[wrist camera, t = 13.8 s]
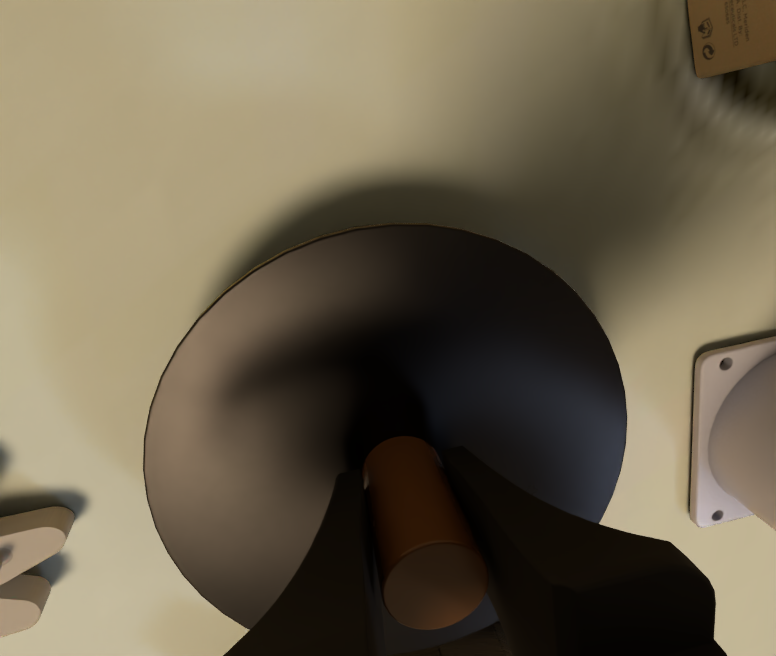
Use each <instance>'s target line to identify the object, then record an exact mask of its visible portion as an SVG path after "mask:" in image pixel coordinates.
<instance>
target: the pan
mask: <svg viewBox="0 0 776 656" xmlns="http://www.w3.org/2000/svg"><path fill="white" fill-rule="evenodd" d="M387 656H513V655H512V652H511V649H510V647H509V644H508V641H507V638H506V636H505V633H504V630H503V628H502V625H501V623H500V620H499V621H497V622H496V623H494V624H492V625H490V626H488V627H486V628H484V629H482V630H480V631H477V632H475V633H473V634H470V635H468V636H466V637H463V638H461V639H458V640H455V641H452V642H449V643H446V644H442V645H439V646H436V647H433V648H428V649H423V650H418V651H414V652H409V653H402V654H393V655H387Z"/></svg>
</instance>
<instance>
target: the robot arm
mask: <svg viewBox="0 0 776 656" xmlns="http://www.w3.org/2000/svg"><path fill="white" fill-rule="evenodd" d="M723 359H724V362H723V363H722V364H721V365H720V363H721V361H722V360H723ZM442 456H443V462H444V469H445V472H446V474H447V477H448V479H449V481H450V483H451V486H452V488H453V490H454V492H455V494H456V497H457V499H458V501H459V503H460V506H461V508H462V510H463V512H464V514H465V517H466V519H467V521H468V523H469V526H470V528H471V530H472V532H473V535H474V537H475V539H476V541H477V544H478V546H479V548H480V550H481V553H482V555H483V557H484V559H485V562H486V564H487V567H488V571H489V582H488V588H487V591H486V592H487V594H488V597H489V599H490V601H491V603H492V605H493V607H494V609H495V611H496V613H497V616H498V618H499V620H500V623H501V625H502V628H503V630H504V633H505V636H506V638H507V641H508V644H509V647H510V649H511V652H512V655H513V656H727V654H726V653H725V652H724V651H723V649H722V648H721V647H720V646H719V645H718V644H717V642H716V641H715V640H714V624H715V607H716V601H715V592H714V589H713V587H712V585H711V583H710V581H709V579H708V578H707V577H706V576H705V575H704V574H703V573H702V572H701V571H700V570H699V569H698V568H697V567H696V566H695V565H694V564H693V563H692V562H691V561H690V560H689V559H688V558H687V557H686V556H685V555H684V554H683V553H682V552H681V551H680V550H679V549H677V548H676V547H675V546H674V545H673V544H672V543H671V542H669V541H664V540H659V539H655V538H650V537H645V536H640V535H636V534H631V533H627V532H624V531H620V530H617V529H613V528H610V527H606V526H603V525H600V524H597V523H594V522H591V521H588V520H586V519H583V518H581V517H578V516H575V515H573V514H570V513H568V512H566V511H563V510H561V509H559V508H557V507H555V506H553V505H551V504H549V503H547V502H544V501H542V500H540V499H539V498H537V497H535V496H533V495H531V494H529V493H528V492H526V491H525V490H523V489H521V488H520V487H518V486H516V485H515V484H513V483H512V482H510V481H509V480H507V479H506V478H505V477H503V476H502V475H500V474H499V473H497V472H496V471H495V470H493V469H492V468H491V467H489V466H488V465H487V464H485V463H484V462H483V461H482V460H480V459H479V458H478V457H476V456H475V455H474V454H473V453H472V452H470V451H469V450H468V449H467V448H465V447H464V446H458V447H453V448H449V449H445V450H442ZM751 515H756V516H757V517H759V518H760V519H761V520H763V521H764V522H765V523H766V524H768V525H769V526H770V527H772V528H773V529H774V530H775V531H776V336H774V337H770V338H765V339H761V340H756V341H752V342H747V343H743V344H738V345H734V346H729V347H725V348H721V349H716V350H712V351H707V352H705V353H703V354H702V355H700V356H699V357H698V359H697V361H696V364H695V379H694V408H693V437H692V466H691V495H690V519H691V520H692V522H694V523H695V524H696V525H697V526H698V527H701V528H703V527H709V526H713V525H716V524H720V523H724V522H728V521H732V520H736V519H740V518H743V517H747V516H751ZM223 656H387V655H386V647H385V638H384V625H383V612H382V598H381V591H380V585H379V579H378V573H377V567H376V561H375V555H374V549H373V542H372V536H371V530H370V523H369V513H368V507H367V502H366V496H365V490H364V485H363V481H362V476H361V471H360V469H357V470H353V471H348V472H344V473H340V474H338V476H337V477H336V479H335V485H334V489H333V492H332V496H331V499H330V502H329V505H328V507H327V510H326V513H325V515H324V518H323V520H322V523H321V525H320V528H319V530H318V532H317V534H316V536H315V538H314V540H313V542H312V545H311V547H310V549H309V550H308V552H307V554H306V556H305V558H304V560H303V561H302V563H301V565H300V566H299V568H298V570H297V571H296V573H295V574H294V576H293V577H292V579H291V580H290V582H289V583H288V585H287V586H286V588H285V589H284V591H283V592H282V593H281V595H280V596H279V597H278V599H277V600H276V601H275V603H274V604H273V605H272V606H271V607H270V608H269V610H268V611H267V612H266V613H265V614H264V616H263V617H262V618H261V619H260V620H259V621H258V622H257V623H256V624H255V625H254V627H253V628H252V629H251V630H250V631H249V632H248V633H247V634H246V635H245V636H243V637H242V638H241V639H240V640H239V641H238V642H237V643H236V644H235V645H234V646H233V647H232V648H231V649H230V650H229V651H228V652H227V653H226V654H224V655H223Z"/></svg>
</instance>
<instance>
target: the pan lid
mask: <svg viewBox="0 0 776 656" xmlns="http://www.w3.org/2000/svg"><path fill="white" fill-rule="evenodd" d="M626 430H627V410H626V398H625V390H624V385H623V381H622V377H621V373H620V368H619V364H618V362H617V359H616V357H615V354H614V352H613V349H612V347H611V344H610V342H609V339H608V337H607V336H606V334H605V332H604V330H603V329H602V327H601V325H600V324H599V322H598V320H597V319H596V317H595V315H594V314H593V312H592V311H591V310H590V309H589V307H588V306H587V305H586V304H585V303H584V301H583V300H582V299H581V298H580V296H579V295H578V294H577V293H576V292H575V291H574V290H573V289H572V288H571V287H570V286H569V285H568V284H567V283H566V282H564V281H563V280H562V279H561V278H560V277H559V276H558V275H557V274H556V273H554V272H553V271H552V270H551V269H549V268H548V267H546V266H544V265H543V264H541V263H540V262H538V261H537V260H535V259H534V258H532V257H531V256H529V255H528V254H526V253H524V252H522V251H520V250H518V249H516V248H513V247H511V246H509V245H507V244H505V243H503V242H501V241H498V240H496V239H493V238H491V237H487V236H484V235H481V234H477V233H474V232H471V231H467V230H464V229H461V228H455V227H448V226H442V225H435V224H429V223H383V224H374V225H366V226H357V227H352V228H348V229H344V230H341V231H337V232H333V233H329V234H325V235H321V236H318V237H316V238H313V239H311V240H308V241H306V242H303V243H301V244H298V245H296V246H293V247H291V248H288V249H286V250H284V251H282V252H281V253H279V254H277V255H275V256H274V257H272V258H270V259H268V260H267V261H265V262H263V263H261V264H260V265H258V266H256V267H254V268H253V269H252V270H250V271H249V272H248V273H246V274H245V275H244V276H243V277H241V278H240V279H239V280H237V281H236V282H235V283H233V284H232V285H231V286H229V287H228V288H227V289H226V290H225V291H224V292H223V293H222V294H221V295H220V296H219V297H218V298H217V299H216V300H215V301H214V302H213V303H212V304H211V305H210V306H209V307H208V308H207V309H206V310H205V311H204V312H203V313H202V314H201V315H200V316H199V318H198V319H197V320H196V322H195V323H194V324H193V326H192V327H191V328H190V330H189V331H188V332H187V334H186V335H185V336H184V338H183V339H182V340H181V342H180V343H179V344H178V346H177V347H176V349H175V351H174V353H173V355H172V357H171V359H170V360H169V362H168V364H167V366H166V368H165V370H164V372H163V374H162V375H161V378H160V380H159V383H158V386H157V389H156V392H155V394H154V397H153V400H152V403H151V406H150V410H149V415H148V420H147V425H146V431H145V436H144V456H143V472H144V479H145V487H146V495H147V500H148V504H149V507H150V511H151V514H152V517H153V521H154V524H155V527H156V529H157V531H158V534H159V536H160V538H161V540H162V542H163V544H164V546H165V548H166V550H167V552H168V554H169V555H170V557H171V558H172V560H173V561H174V563H175V564H176V566H177V567H178V569H179V570H180V572H181V573H182V575H183V576H184V577H185V578H186V579H187V580H188V581H189V583H190V584H191V585H192V586H193V587H194V588H195V589H196V590H197V591H198V592H199V593H200V595H201V596H202V597H204V598H205V599H206V600H207V601H208V602H210V603H211V604H212V605H213V606H215V607H216V608H217V609H218V610H219V611H221V612H222V613H223V614H225V615H226V616H228V617H229V618H231V619H233V620H234V621H236V622H237V623H239V624H241V625H242V626H244V627H245V628H247V629H249V630H251V629H252V628H253V627H254V625H255V624H256V623H257V622H258V621H259V620H260V619H261V618H262V617H263V616H264V614H265V613H266V612H267V611H268V610H269V608H270V607H271V606H272V605H273V604H274V603H275V601H276V600H277V599H278V597H279V596H280V595H281V593H282V592H283V591H284V589H285V588H286V586H287V585H288V583H289V582H290V580H291V579H292V577H293V576H294V574H295V573H296V571H297V570H298V568H299V566H300V565H301V563H302V561H303V560H304V558H305V556H306V554H307V552H308V550H309V549H310V547H311V545H312V542H313V540H314V538H315V536H316V534H317V532H318V530H319V528H320V525H321V523H322V520H323V518H324V515H325V513H326V510H327V507H328V505H329V502H330V499H331V496H332V492H333V489H334V485H335V479H336V477H337V476H338V474H340V473H344V472H348V471H353V470H357V469H360V471H361V476H362V481H363V485H364V490H365V496H366V502H367V507H368V513H369V523H370V530H371V536H372V542H373V549H374V555H375V561H376V567H377V573H378V579H379V585H380V591H381V598H382V612H383V625H384V638H385V647H386V655H393V654H402V653H409V652H414V651H418V650H423V649H428V648H433V647H436V646H439V645H442V644H446V643H449V642H452V641H455V640H458V639H461V638H463V637H466V636H468V635H470V634H473V633H475V632H477V631H480V630H482V629H484V628H486V627H488V626H490V625H492V624H494V623H496V622H497V621H499V618H498V616H497V613H496V611H495V609H494V607H493V605H492V603H491V601H490V599H489V597H488V594H487V592H486V591H487V588H488V582H489V571H488V567H487V564H486V562H485V559H484V557H483V555H482V553H481V550H480V548H479V546H478V544H477V541H476V539H475V537H474V535H473V532H472V530H471V528H470V526H469V523H468V521H467V519H466V517H465V514H464V512H463V510H462V508H461V506H460V503H459V501H458V499H457V497H456V494H455V492H454V490H453V488H452V486H451V483H450V481H449V479H448V477H447V474H446V472H445V469H444V462H443V456H442V450H445V449H449V448H453V447H458V446H464V447H465V448H467V449H468V450H469V451H470V452H472V453H473V454H474V455H475V456H476V457H478V458H479V459H480V460H482V461H483V462H484V463H485V464H487V465H488V466H489V467H491V468H492V469H493V470H495V471H496V472H497V473H499V474H500V475H502V476H503V477H505V478H506V479H507V480H509V481H510V482H512V483H513V484H515V485H516V486H518V487H520V488H521V489H523V490H525V491H526V492H528V493H529V494H531V495H533V496H535V497H537V498H539V499H540V500H542V501H544V502H547V503H549V504H551V505H553V506H555V507H557V508H559V509H561V510H563V511H566V512H568V513H570V514H573V515H575V516H578V517H581V518H583V519H586V520H588V521H591V522H594V523H597V524H599V522H600V521H601V519H602V517H603V515H604V513H605V511H606V508H607V506H608V504H609V502H610V500H611V498H612V496H613V493H614V490H615V486H616V483H617V480H618V477H619V474H620V471H621V466H622V461H623V456H624V451H625V446H626Z"/></svg>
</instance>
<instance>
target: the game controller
mask: <svg viewBox="0 0 776 656" xmlns="http://www.w3.org/2000/svg"><path fill="white" fill-rule="evenodd" d="M74 519H75V517H74V514H73V512H72V511H71V510H69V509H67V508H65V507H57V506H56V507H47V508H43V509H38V510H34V511H29V512H25V513H20V514H16V515H11V516H7V517H2V518H0V637H4V636H7V635H10V634H13V633H16V632H20V631H23V630H26V629H28V628H31V627H32V626H34V625H35V624H36V623H37V622H38V620H39V618H40V616H41V614H42V611H43V609H44V606H45V604H46V601H47V599H48V596H49V594H50V591H51V586H50V583H49V582H48V581H47V580H46V579H45V578H43V577H40V576H33V575H23V574H21V573H23V572H25V571H26V570H28V569H30V568H32V567H33V566H35V565H37V564H39V563H40V562H42V561H44V560H46V559H47V558H49V557H51V556H53V555H54V554H56V553H57V552H58V551H59V550H60V549H61V548H62V547H63V546H64V544H65V541H66V539H67V537H68V534H69V532H70V529H71V527H72V525H73V522H74Z"/></svg>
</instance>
